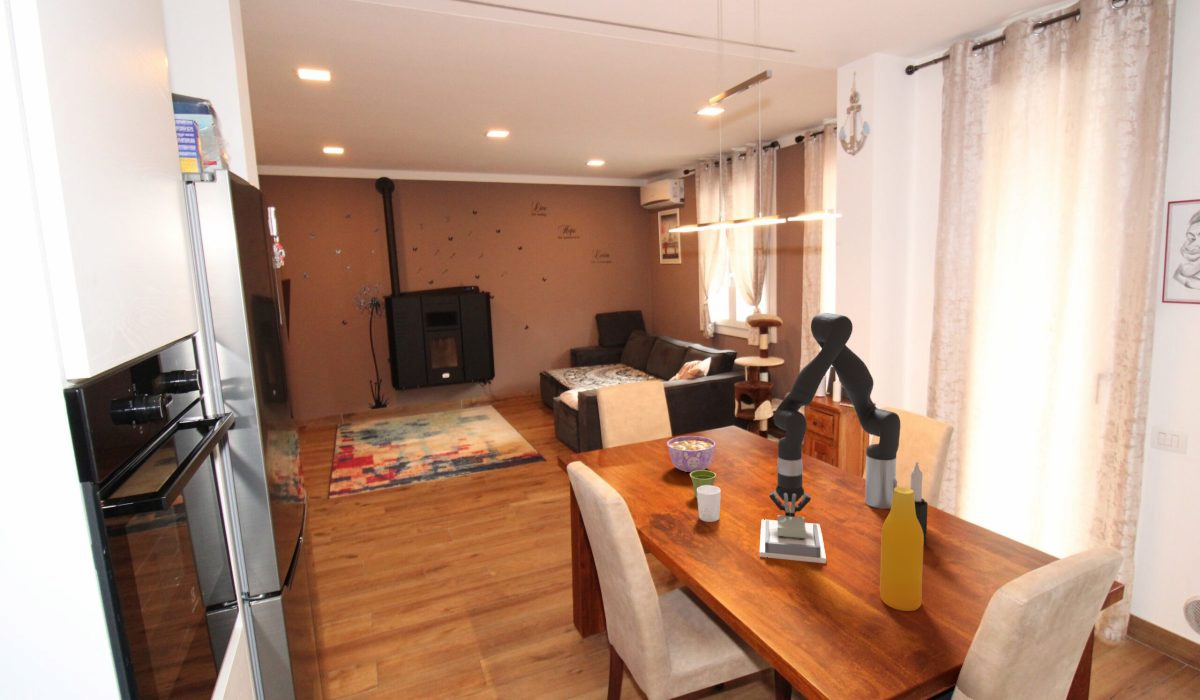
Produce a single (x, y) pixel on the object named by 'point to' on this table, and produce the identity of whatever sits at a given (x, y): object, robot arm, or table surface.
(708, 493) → the white cup
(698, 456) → the bowl of food
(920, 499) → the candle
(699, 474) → the plant pot
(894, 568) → the beer bottle
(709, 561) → the table surface
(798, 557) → the loading dock
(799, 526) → the grey rectangular block
